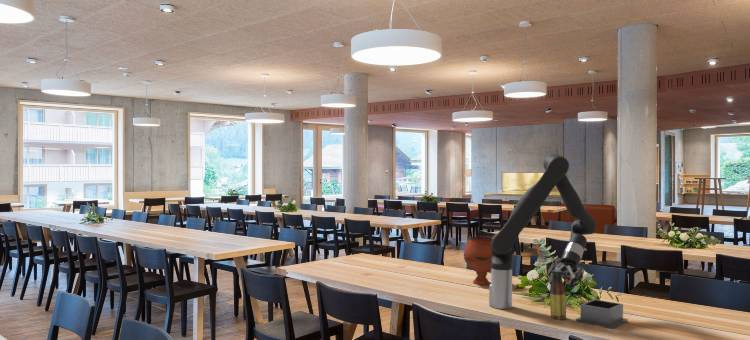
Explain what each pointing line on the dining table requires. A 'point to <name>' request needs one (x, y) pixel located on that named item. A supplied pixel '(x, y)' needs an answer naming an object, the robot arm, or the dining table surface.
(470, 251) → the goblet
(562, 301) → the sauce bottle
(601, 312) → the box
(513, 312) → the dining table surface
